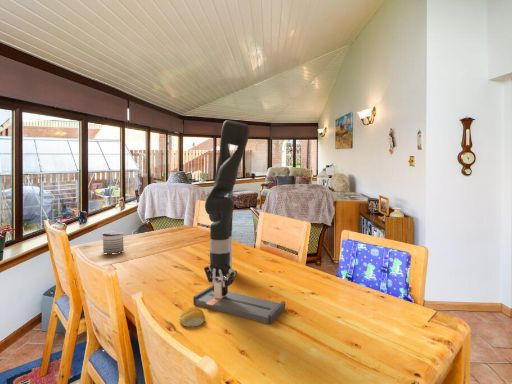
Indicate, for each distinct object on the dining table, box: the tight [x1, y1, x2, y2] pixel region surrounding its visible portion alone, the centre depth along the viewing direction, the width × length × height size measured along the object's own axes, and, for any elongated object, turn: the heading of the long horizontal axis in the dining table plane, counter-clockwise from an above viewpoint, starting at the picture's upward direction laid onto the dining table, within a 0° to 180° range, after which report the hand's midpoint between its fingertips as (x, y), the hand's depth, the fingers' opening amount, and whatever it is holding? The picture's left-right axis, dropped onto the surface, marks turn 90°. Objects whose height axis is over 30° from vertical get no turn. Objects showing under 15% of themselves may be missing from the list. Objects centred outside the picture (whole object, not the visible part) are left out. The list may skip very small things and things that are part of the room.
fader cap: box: [214, 278, 226, 299], centre depth 122 cm, size 3×4×6 cm
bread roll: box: [178, 306, 206, 328], centre depth 109 cm, size 8×9×4 cm
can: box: [102, 230, 125, 254], centre depth 188 cm, size 11×11×12 cm
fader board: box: [192, 284, 286, 325], centre depth 118 cm, size 32×13×3 cm, turn 62°
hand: (220, 294), depth 122 cm, fingers closed on fader cap, 3 cm apart
